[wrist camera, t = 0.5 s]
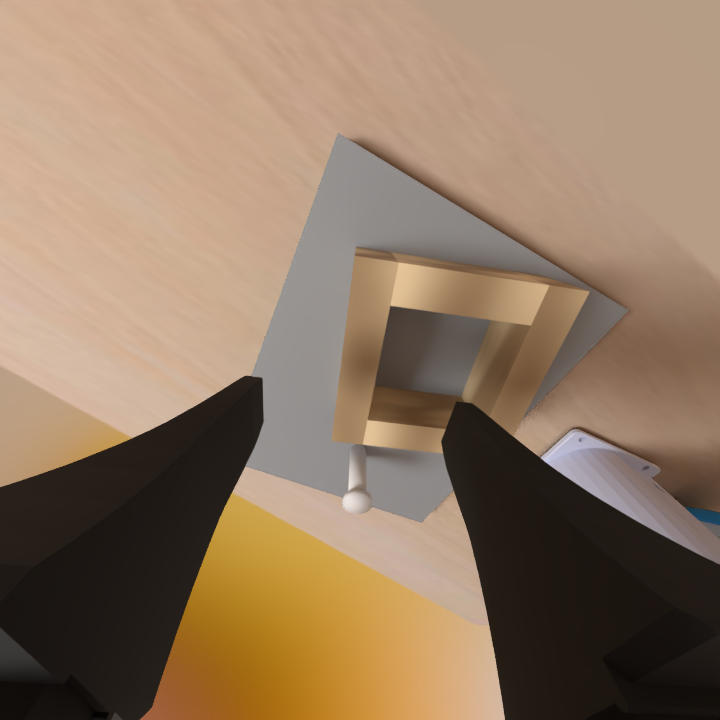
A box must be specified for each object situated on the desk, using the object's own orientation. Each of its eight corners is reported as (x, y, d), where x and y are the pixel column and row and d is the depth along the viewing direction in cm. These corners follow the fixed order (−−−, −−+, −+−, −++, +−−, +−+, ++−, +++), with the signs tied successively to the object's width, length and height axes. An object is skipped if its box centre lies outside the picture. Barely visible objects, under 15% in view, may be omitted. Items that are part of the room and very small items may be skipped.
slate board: (611, 304, 17) (718, 342, 12) (418, 510, 26) (432, 579, 21) (339, 139, 13) (326, 92, 8) (228, 447, 22) (190, 513, 17)
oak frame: (541, 275, 15) (589, 291, 12) (478, 420, 19) (500, 459, 16) (356, 246, 14) (354, 255, 11) (336, 403, 19) (331, 441, 16)
